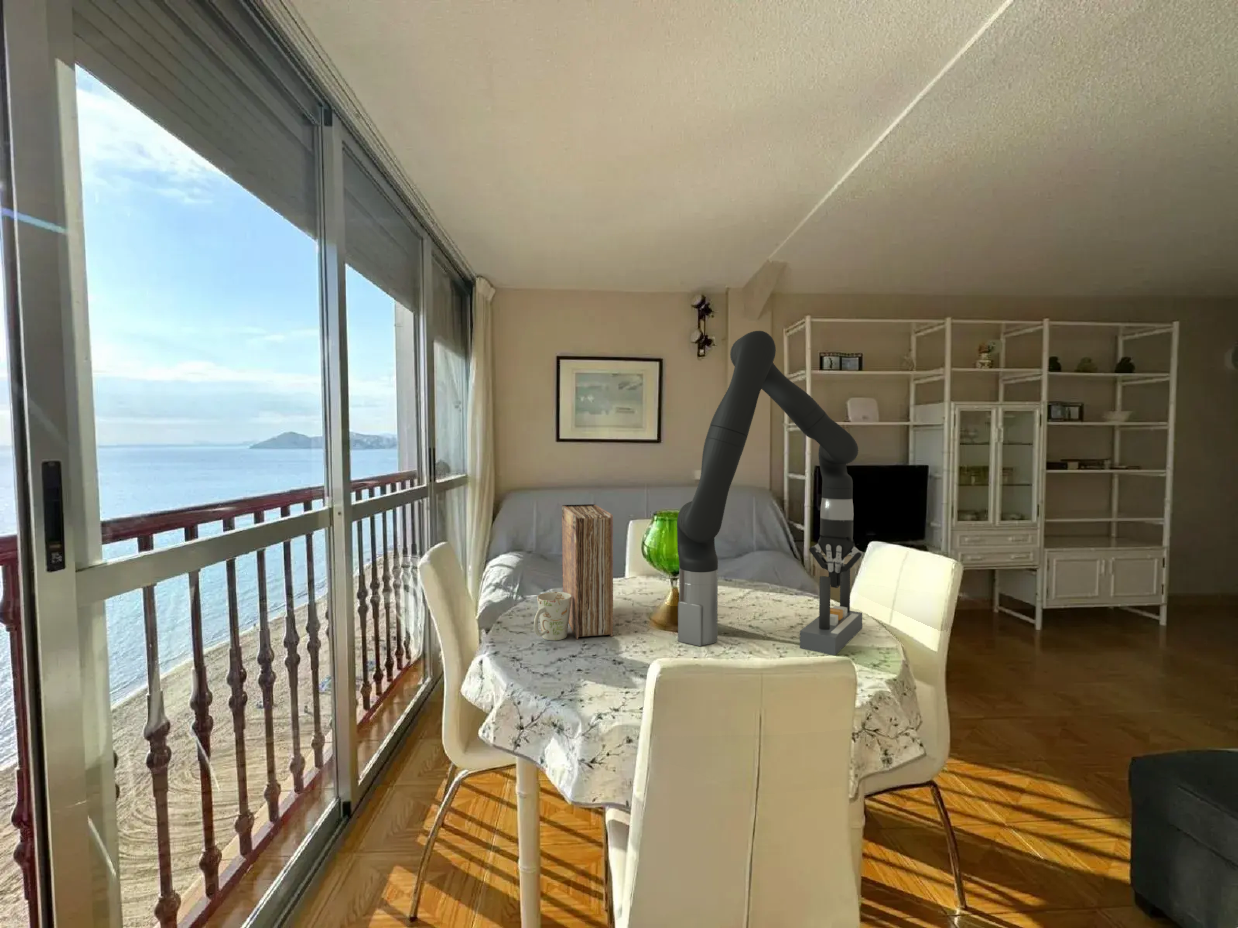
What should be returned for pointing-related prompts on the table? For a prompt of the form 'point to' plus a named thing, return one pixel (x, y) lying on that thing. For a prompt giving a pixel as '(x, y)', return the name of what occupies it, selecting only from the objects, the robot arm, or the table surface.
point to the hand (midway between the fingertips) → (835, 587)
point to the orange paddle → (837, 613)
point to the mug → (553, 615)
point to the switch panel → (831, 632)
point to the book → (588, 568)
